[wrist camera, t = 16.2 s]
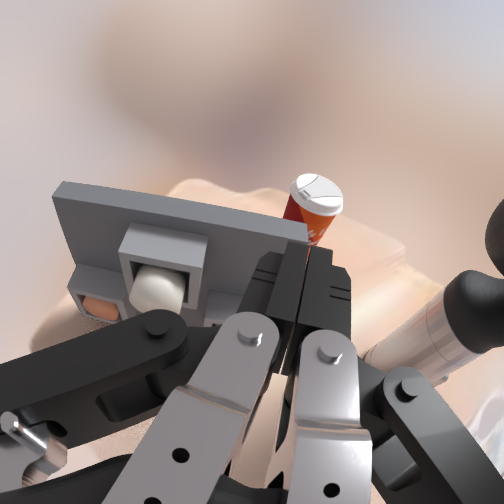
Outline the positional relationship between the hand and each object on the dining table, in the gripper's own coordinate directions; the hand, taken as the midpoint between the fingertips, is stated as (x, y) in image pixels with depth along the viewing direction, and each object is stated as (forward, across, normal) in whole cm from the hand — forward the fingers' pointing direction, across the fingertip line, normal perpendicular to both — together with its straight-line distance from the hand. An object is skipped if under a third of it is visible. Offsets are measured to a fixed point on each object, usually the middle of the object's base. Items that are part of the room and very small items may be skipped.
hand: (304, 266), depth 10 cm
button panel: (+13, +14, +23) cm, 30 cm away
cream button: (+6, +10, +11) cm, 17 cm away
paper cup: (+32, +2, +21) cm, 39 cm away
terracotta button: (+8, +19, +17) cm, 27 cm away
